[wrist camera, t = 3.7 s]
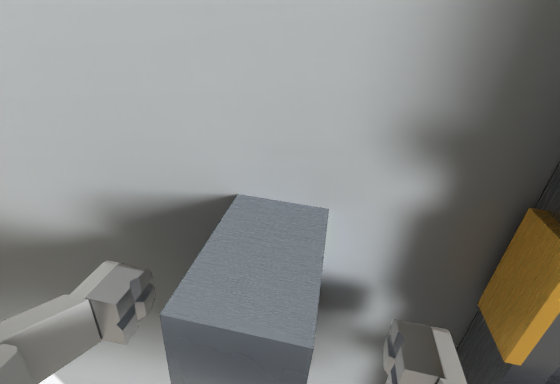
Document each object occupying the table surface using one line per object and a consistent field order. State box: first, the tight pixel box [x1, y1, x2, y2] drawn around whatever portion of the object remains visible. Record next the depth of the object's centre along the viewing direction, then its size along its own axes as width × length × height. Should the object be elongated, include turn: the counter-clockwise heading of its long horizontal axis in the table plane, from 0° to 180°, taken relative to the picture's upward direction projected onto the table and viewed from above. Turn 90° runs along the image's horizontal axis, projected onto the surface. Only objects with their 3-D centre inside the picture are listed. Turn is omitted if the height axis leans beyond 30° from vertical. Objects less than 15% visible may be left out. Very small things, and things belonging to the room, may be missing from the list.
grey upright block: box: [160, 194, 329, 384], centre depth 10 cm, size 6×3×5 cm, turn 176°
